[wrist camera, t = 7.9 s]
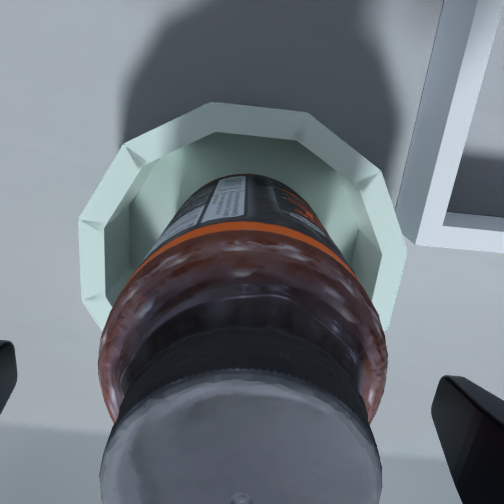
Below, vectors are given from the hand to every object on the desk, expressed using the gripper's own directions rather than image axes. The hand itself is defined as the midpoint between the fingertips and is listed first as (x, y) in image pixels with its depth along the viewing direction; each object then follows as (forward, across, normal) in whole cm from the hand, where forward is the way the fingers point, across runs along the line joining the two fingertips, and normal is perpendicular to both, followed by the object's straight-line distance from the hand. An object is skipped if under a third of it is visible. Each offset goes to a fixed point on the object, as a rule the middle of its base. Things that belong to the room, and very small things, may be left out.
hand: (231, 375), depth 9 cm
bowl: (+9, 0, 0) cm, 9 cm away
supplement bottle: (+8, 0, 0) cm, 8 cm away
